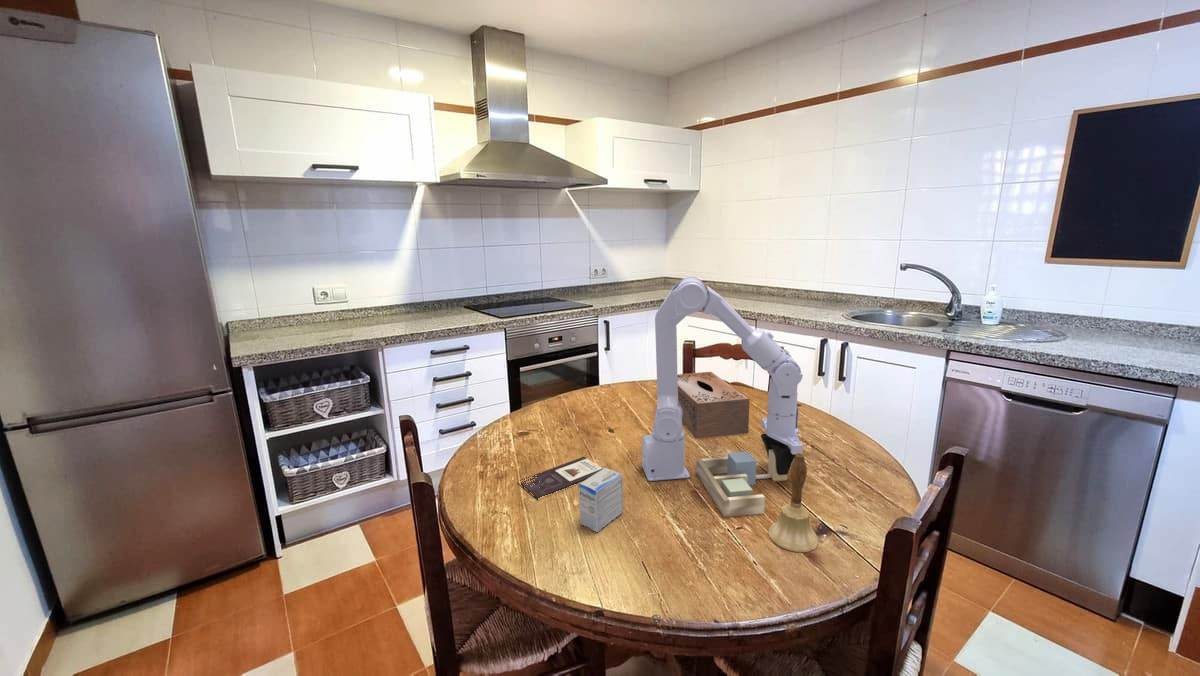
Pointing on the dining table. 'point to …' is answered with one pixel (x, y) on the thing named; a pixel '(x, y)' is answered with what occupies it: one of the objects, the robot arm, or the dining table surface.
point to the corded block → (752, 467)
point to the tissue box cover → (712, 405)
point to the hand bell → (795, 516)
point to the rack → (714, 487)
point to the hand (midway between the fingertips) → (778, 470)
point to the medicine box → (601, 499)
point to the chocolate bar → (561, 477)
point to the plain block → (736, 487)
